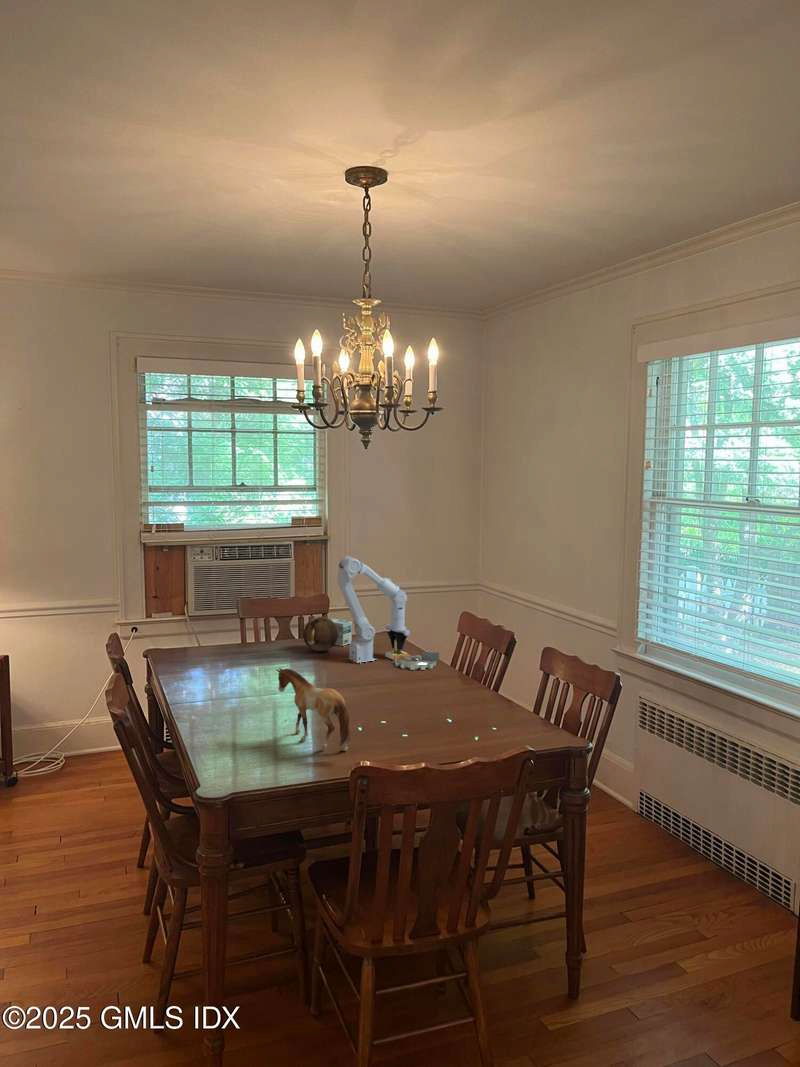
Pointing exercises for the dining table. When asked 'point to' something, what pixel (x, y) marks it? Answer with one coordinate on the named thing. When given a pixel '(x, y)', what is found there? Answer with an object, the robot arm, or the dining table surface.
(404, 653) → the square open frame
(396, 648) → the brass pin
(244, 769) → the dining table surface
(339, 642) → the light bulb box
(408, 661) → the sprocket
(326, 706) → the horse figurine
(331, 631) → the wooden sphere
